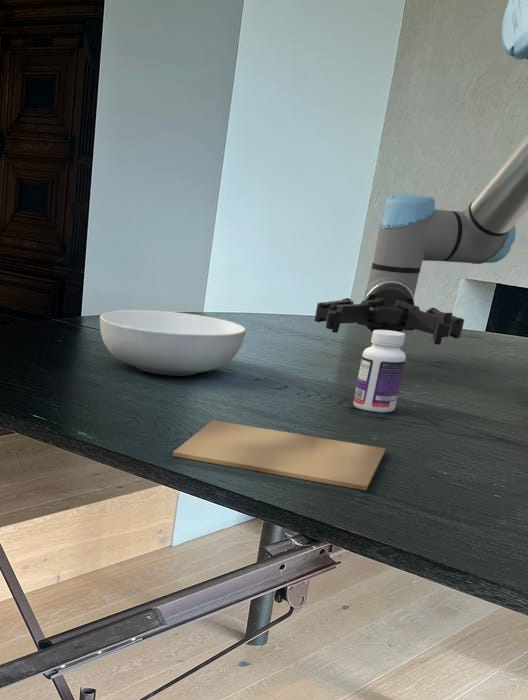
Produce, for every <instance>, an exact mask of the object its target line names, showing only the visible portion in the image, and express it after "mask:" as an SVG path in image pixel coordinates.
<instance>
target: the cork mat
mask: <svg viewBox="0 0 528 700" xmlns="http://www.w3.org/2000/svg"><path fill="white" fill-rule="evenodd" d="M386 452H387V449H386V448H385V447H379V446H372V445H367V444H361V443H354V442H349V441H343V440H336V439H330V438H323V437H318V436H311V435H306V434H299V433H294V432H287V431H282V430H281V431H280V430H275V429H270V428H264V427H257V426H252V425H251V426H250V425H245V424H239V423H233V422H228V421H220V420H214V419H212V420H211V421H210V422H209V423H207V424H206V425H205V426H203V427H201V429H200V430H198V431H197V432H196V433H195V434H193V435H192V436H191V437H190V438H188V439H187V440H186V441H185V442H183V444H181V445H180V446H179V447H178V448H176V449H175V450H174V451H172V457H175V458H181V459H185V460H191V461H196V462H197V461H198V462H203V463H208V464H214V465H220V466H226V467H231V468H235V469H236V468H237V469H241V470H248V471H253V472H259V473H265V474H271V475H276V476H282V477H287V478H293V479H298V480H304V481H310V482H315V483H322V484H326V485H332V486H337V487H342V488H349V489H354V490H360V491H368V490H369V489H368V488H369V486H370V485H371V483H372V480H373V478H374V476H375V474H376V472H377V470H378V469H379V467H380V464H381V462H382V460H383V458H384V456H385V454H386Z"/></svg>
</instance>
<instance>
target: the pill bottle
mask: <svg viewBox="0 0 528 700" xmlns="http://www.w3.org/2000/svg"><path fill="white" fill-rule="evenodd" d="M405 338H406V333H405V332H402V331H401V332H397V331H390V330H374V331H373V332H372V335H371V340H370V343H372V344H371V346H369V347H366V348H365V349H364V350H363V352H362V356H361V360H360V365H359V370H358V374H357V379H356V385H355V391H354V396H353V401H352V405H353V407H354V408H356V409H358V410H361V411H366V412H371V413H372V412H373V413H379V414H380V413H382V414H384V413H385V414H386V413H391V412H394V411H395V409H396V406H397V401H398V397H399V391H400V386H401V383H402V378H403V374H404V368H405V364H406V359H407V355H406V353H405V352H404V351H403V350H402V349H401V348H402V347H403V346H404V343H405Z"/></svg>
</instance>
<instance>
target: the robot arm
mask: <svg viewBox="0 0 528 700" xmlns="http://www.w3.org/2000/svg"><path fill="white" fill-rule="evenodd" d="M500 37H501V38H500V39H501V45H502V48H503V50H504V52H505V53H506V55H508V56H510V57H512V58H514V59H515V60H518V61H522V60H524V59H526V60H528V0H508V1H507V4H506V7H505V9H504V13H503V18H502V22H501V31H500ZM435 207H436V200H435V198H434V197H432V196H427V195H417V194H405V193H404V194H403V193H394V194H391V195H390V196H388V197H387V198H386V200H385V203H384V206H383V208H382V209H383V210H382V213H381V216H380V220H379V223H378V227H379V228H378V233H377V238H376V244H375V250H374V256H373V262H372V264H371V267H370V272H369V277H368V282H367V285H366V289H365V293H364V297H363V300H362V301H361V302H360V303H355V301H354V300H352V299H351V298H349V297H345V298H343V299H339V300H333V301H324V302H321V301H320V302H318V303H316V304H317V305H316V310H315V315H314V322H316V323H323V322H325V329H327V330H331V333H335V334H338V333H339V329H340V326H341V324H357V325H360V326H364V327H366V328H367V329H368V330H369V331H370V332H371V333H373V331H374V330H390V331H397V332H401V333H402V332H403V331H415V330H417V331H419V332H424V333H427V334H430V335H432V340H433V344H434V345H438V346H440V345H441V344H442V339H443V338H449V337H452V338H453V339H460V338H461V335H462V331H463V328H464V323H465V319H464V318H462V317H458V316H455V315H453V314H454V313H453V312H444V311H442V310H441V311H440V310H439V309H438V308H436V307H429V308H427V309H425V310H426V311H423V310H420V309H421V308H420V306H418V305H415V294H416V289H417V285H418V281H419V277H420V273H421V268H422V264H423V262H424V261H425V262H427V261H428V262H445V263H448V262H449V263H461V264H463V263H464V264H472V265H474V264H475V265H481V264H487V263H488V264H493V263H497V262H500V261H502V260H503V259H505V258H506V257H507V256H508V254H509V253H510V252H511V249H512V248H511V247H512V245H513V244H515V241H516V237H517V236H516V234H517V227H516V225H517V223H518V222H519V221H520V220H521V218H523V216H524V215H526V213H527V212H528V133H527V134H526V135H525V136H524V138H522V140H521V141H520V142H519V144H518V145H517V146H516V147H515V148H514V150H513V151H512V152H511V153H510V154H509V156H508V157H507V158H506V160H505V161H504V162H503V163H502V164H501V165H500V167H499V168H498V170H497V171H495V173H494V174H493V176H492V177H490V179H489V180H488V182H487V183H486V184H485V186H483V188H482V189H481V190H480V191H479V193H478V194H477V195H476V196H475V198H474V199H472V201H471V202H470V203H469V205H468V206H467V207H466V208H465V209H464V210H461V211H460V210H446V209H438V208H437V209H436V208H435Z"/></svg>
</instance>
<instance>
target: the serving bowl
mask: <svg viewBox="0 0 528 700" xmlns="http://www.w3.org/2000/svg"><path fill="white" fill-rule="evenodd" d="M99 327H100V329H99V331H100V336H101V338H102V341H103V344H104V346H105V347H106V349H107V350H108V351H109V353H110V354H112V355H113V356H114V357H115V358H116V359H118V360H119V361H121V362H123V363H126V364H128V365H130V366H133V367H134V368H135V367H136V368H137V369H138V370H140V371H143V372H147V373H150V374H155V375H160V376H161V375H163V376H174V377H175V376H176V377H177V376H178V377H184V376H192V375H196V374H198V373H204V372H209V371H213V370H217V369H219V368H221V367H223V366H225V365H226V364H228V363H229V362H230V361H232V359H234V358H235V356H236V355H237V354H238V352H239V351H240V350H241V347H242V345H243V342H244V339H245V337H246V334H247V329H246V328H245V327H244V325H242V324H239V323H236V322H233V321H230V320H226V319H221V318H217V317H211V316H206V315H199V314H192V313H186V312H185V313H184V312H175V311H163V310H149V309H148V310H145V309H122V310H113V311H107V312H104V313H102V314H100V316H99Z"/></svg>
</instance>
